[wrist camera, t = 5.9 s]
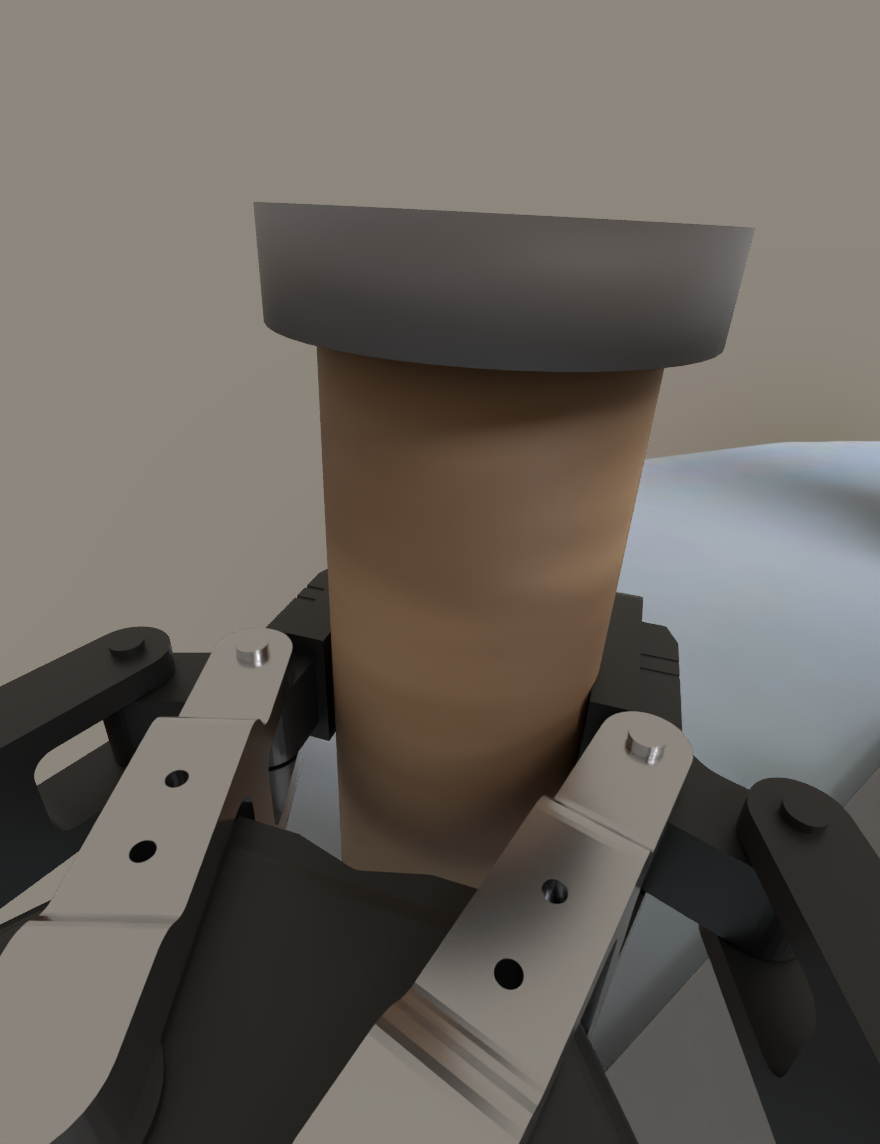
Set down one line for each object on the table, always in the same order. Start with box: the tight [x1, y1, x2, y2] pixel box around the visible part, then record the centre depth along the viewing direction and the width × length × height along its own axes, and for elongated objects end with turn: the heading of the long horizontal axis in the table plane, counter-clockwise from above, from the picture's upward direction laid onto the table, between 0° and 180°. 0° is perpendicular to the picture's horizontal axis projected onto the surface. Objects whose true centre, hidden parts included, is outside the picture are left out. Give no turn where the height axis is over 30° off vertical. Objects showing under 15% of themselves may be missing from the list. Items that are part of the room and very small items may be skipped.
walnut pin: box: [254, 202, 755, 889], centre depth 11 cm, size 6×6×16 cm
